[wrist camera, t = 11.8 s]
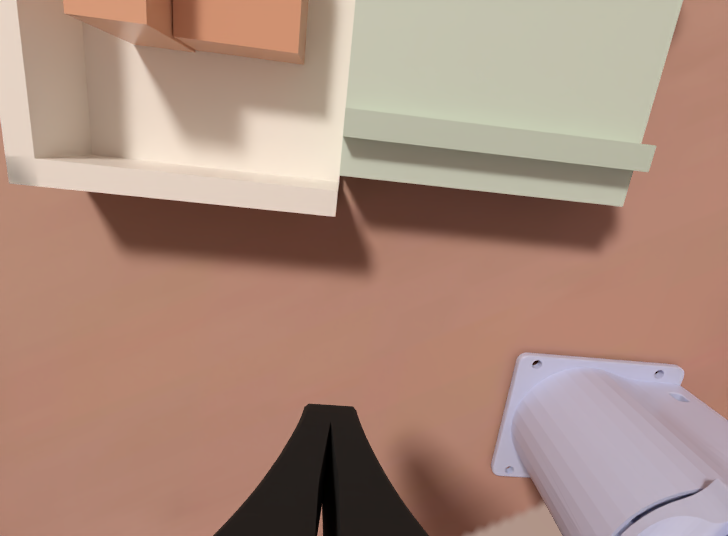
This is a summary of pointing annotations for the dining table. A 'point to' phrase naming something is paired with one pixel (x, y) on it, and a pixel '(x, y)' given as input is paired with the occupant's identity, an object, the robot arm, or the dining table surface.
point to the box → (173, 113)
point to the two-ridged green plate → (505, 94)
